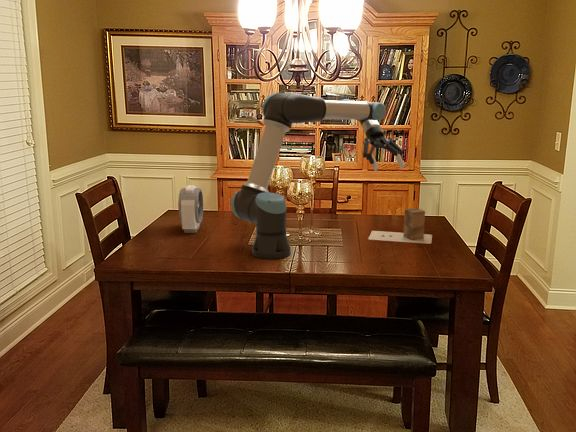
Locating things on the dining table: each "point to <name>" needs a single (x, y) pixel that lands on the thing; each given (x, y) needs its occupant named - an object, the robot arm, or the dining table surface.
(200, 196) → the alarm clock
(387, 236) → the board
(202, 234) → the dining table surface
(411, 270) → the dining table surface
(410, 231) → the walnut block
